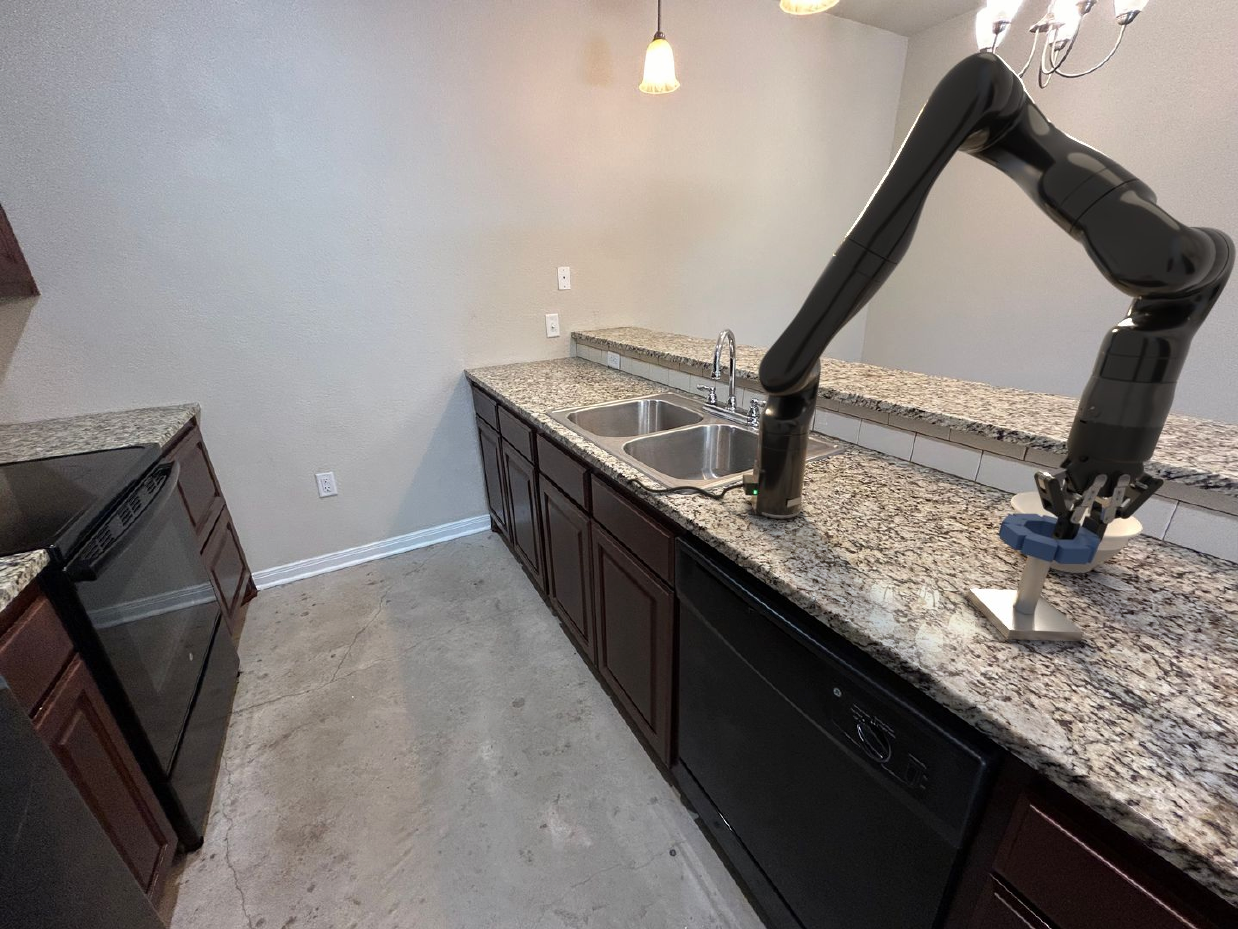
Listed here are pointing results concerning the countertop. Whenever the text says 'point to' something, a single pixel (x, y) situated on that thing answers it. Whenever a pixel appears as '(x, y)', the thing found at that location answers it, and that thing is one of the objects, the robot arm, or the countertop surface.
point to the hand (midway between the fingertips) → (1074, 544)
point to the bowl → (1112, 538)
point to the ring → (1047, 539)
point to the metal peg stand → (1026, 608)
